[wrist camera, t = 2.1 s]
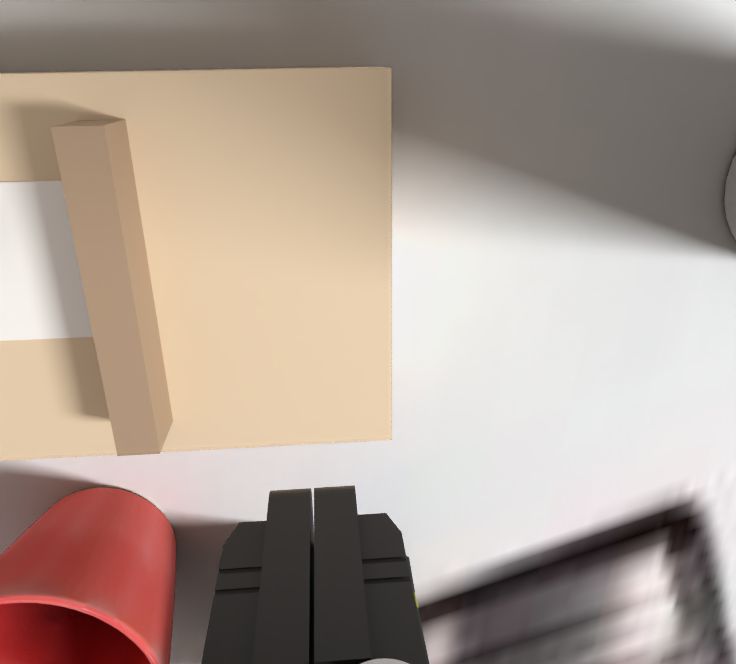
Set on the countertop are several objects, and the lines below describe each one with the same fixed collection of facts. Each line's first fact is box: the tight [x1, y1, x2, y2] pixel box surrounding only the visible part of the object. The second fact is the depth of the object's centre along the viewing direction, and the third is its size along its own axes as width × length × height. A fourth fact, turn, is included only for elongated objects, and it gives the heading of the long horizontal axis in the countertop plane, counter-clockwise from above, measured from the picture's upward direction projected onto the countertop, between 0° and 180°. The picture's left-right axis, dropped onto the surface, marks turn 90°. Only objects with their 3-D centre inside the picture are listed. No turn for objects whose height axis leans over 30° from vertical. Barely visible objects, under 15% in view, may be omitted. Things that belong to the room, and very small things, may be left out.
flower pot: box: [0, 488, 176, 664], centre depth 33 cm, size 11×11×10 cm
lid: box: [0, 67, 392, 461], centre depth 23 cm, size 20×15×3 cm
